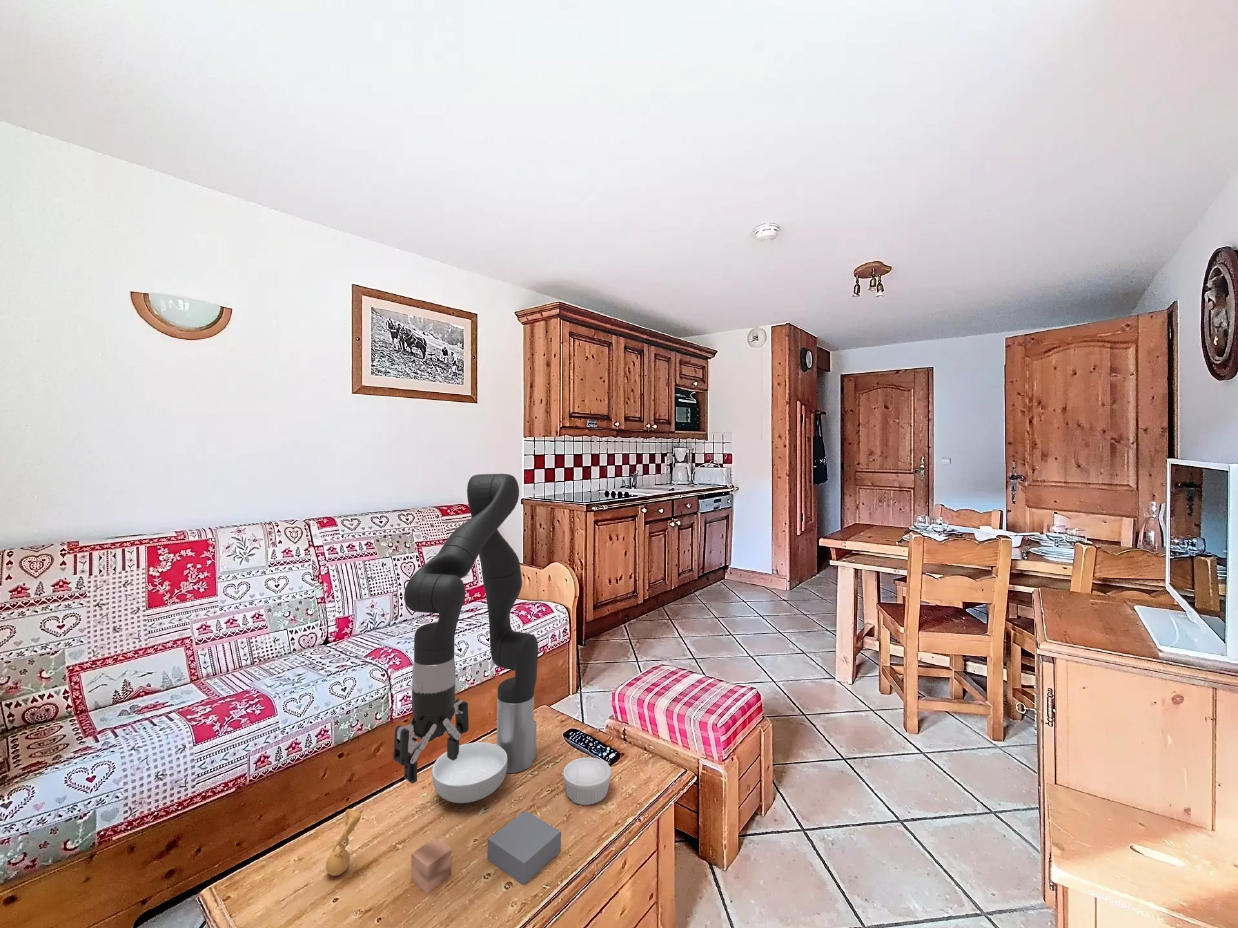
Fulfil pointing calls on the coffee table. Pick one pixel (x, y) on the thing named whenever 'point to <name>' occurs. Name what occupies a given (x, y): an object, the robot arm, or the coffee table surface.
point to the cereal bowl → (470, 772)
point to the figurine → (341, 856)
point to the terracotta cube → (431, 865)
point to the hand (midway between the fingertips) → (432, 769)
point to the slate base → (524, 846)
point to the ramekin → (587, 780)
